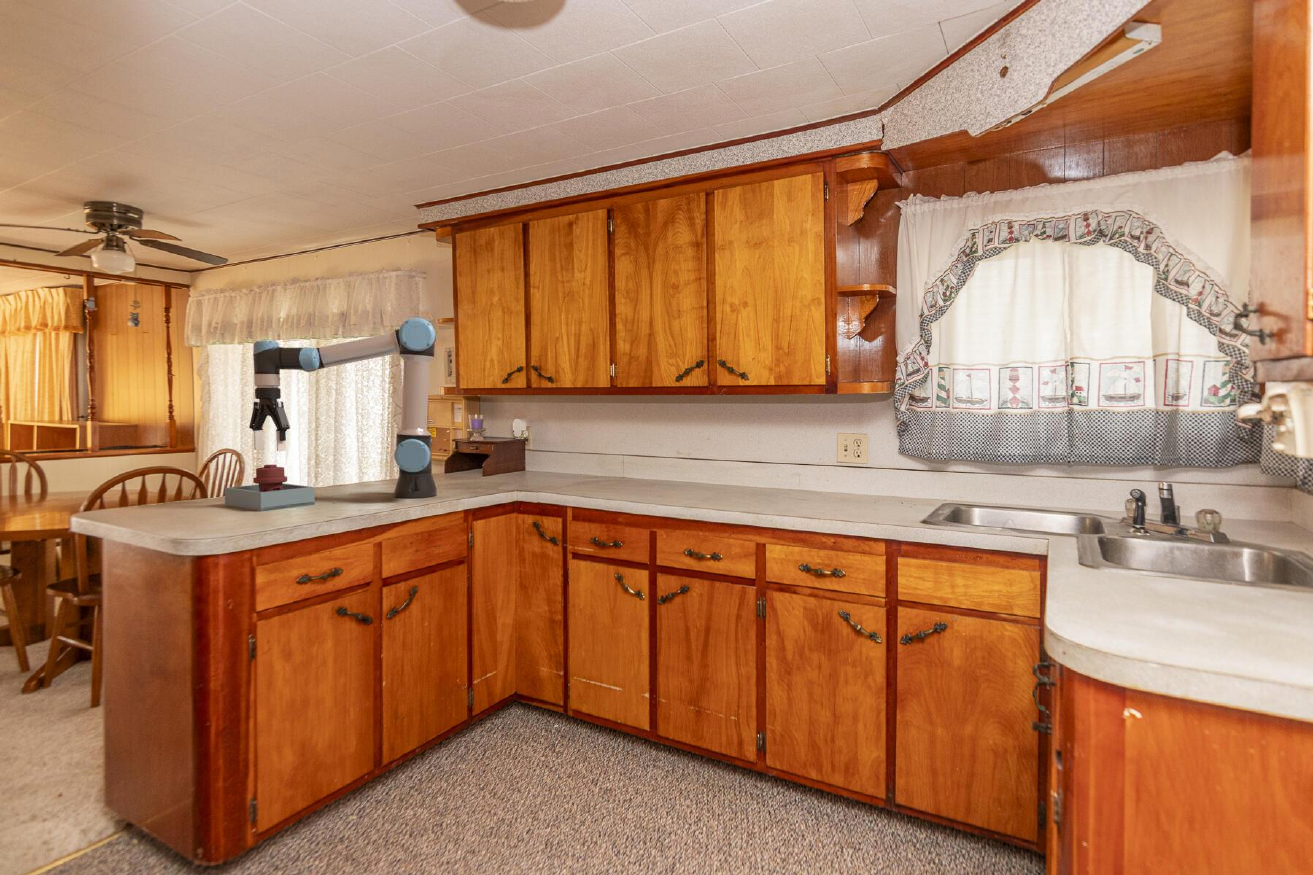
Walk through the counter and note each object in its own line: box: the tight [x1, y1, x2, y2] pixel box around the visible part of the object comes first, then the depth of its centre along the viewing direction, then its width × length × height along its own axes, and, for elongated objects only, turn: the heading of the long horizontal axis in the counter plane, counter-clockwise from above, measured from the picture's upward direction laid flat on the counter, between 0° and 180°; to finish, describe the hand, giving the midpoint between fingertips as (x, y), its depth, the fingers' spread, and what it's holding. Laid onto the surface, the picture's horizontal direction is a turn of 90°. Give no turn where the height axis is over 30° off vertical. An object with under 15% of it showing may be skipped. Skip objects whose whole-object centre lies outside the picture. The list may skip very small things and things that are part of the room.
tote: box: [224, 482, 315, 512], centre depth 232 cm, size 22×18×6 cm
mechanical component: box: [252, 464, 288, 492], centre depth 231 cm, size 12×10×10 cm
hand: (270, 450), depth 231 cm, fingers open, 13 cm apart
